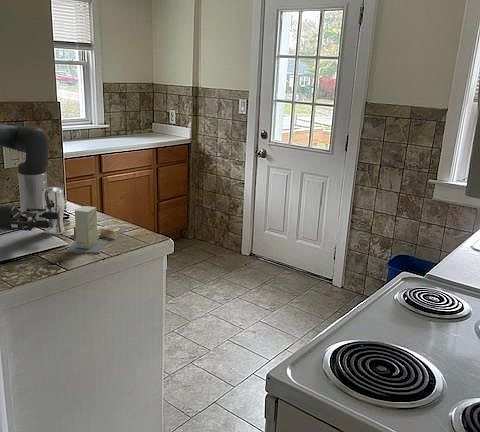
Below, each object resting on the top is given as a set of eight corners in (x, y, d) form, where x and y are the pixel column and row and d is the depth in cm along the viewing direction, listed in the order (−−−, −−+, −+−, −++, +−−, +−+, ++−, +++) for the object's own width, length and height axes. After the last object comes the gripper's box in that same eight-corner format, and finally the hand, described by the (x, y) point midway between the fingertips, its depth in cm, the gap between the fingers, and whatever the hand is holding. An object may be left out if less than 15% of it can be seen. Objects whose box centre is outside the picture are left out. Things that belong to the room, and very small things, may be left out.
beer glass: (55, 227, 169) (53, 185, 164) (70, 231, 166) (68, 188, 162) (39, 232, 163) (36, 189, 158) (54, 236, 160) (52, 193, 156)
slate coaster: (75, 241, 157) (75, 239, 157) (106, 242, 158) (106, 240, 158) (66, 252, 148) (66, 250, 148) (99, 253, 149) (99, 252, 148)
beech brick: (100, 236, 164) (100, 228, 163) (105, 233, 166) (105, 225, 165) (115, 239, 161) (114, 231, 161) (120, 237, 164) (120, 228, 163)
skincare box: (88, 249, 150) (87, 212, 146) (75, 247, 150) (73, 210, 147) (98, 242, 156) (97, 206, 152) (85, 241, 156) (84, 205, 153)
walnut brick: (74, 235, 163) (73, 226, 162) (82, 233, 165) (81, 225, 164) (83, 240, 159) (82, 231, 158) (91, 238, 161) (91, 229, 161)
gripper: (-12, 212, 141) (45, 215, 142) (8, 199, 154) (60, 202, 155) (-10, 237, 143) (47, 239, 144) (10, 222, 157) (61, 224, 158)
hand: (53, 220), depth 150 cm, fingers open, 8 cm apart
